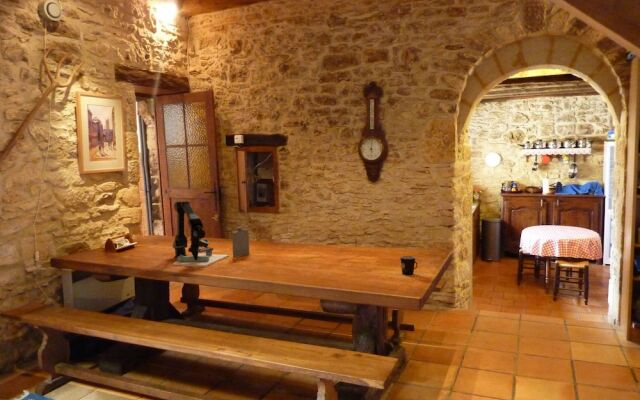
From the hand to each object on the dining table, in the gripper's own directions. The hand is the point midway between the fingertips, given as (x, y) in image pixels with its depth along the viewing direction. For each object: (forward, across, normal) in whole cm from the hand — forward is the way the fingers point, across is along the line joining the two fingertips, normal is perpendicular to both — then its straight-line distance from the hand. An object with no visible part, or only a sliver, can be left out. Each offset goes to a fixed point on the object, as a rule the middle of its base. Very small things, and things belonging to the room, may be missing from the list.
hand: (196, 260), depth 319 cm
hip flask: (+2, +23, -27) cm, 35 cm away
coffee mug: (+4, -46, -130) cm, 137 cm away
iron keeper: (+1, +18, -2) cm, 18 cm away
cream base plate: (+2, +9, -2) cm, 10 cm away
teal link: (+1, +3, +2) cm, 4 cm away
